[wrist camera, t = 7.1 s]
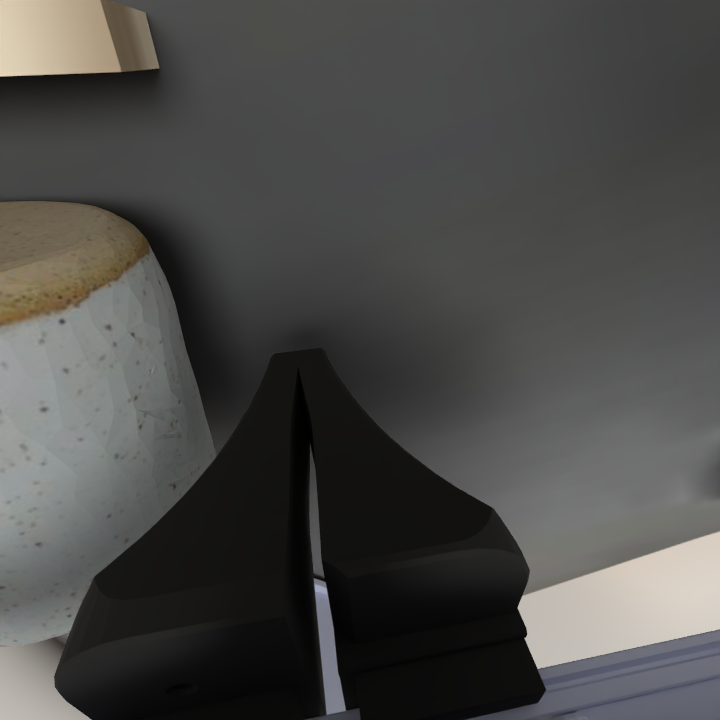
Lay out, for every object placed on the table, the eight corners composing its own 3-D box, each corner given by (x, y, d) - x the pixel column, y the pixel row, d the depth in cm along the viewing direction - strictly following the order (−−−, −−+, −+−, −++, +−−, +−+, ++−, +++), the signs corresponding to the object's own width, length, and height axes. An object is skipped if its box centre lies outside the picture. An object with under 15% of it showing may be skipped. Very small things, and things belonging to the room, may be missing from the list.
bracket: (145, 12, 9) (99, -4, 7) (264, 480, 19) (262, 543, 16) (-529, 27, 8) (-886, 14, 5) (-32, 524, 17) (-82, 600, 15)
